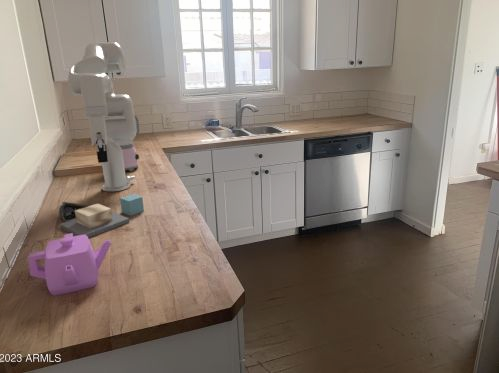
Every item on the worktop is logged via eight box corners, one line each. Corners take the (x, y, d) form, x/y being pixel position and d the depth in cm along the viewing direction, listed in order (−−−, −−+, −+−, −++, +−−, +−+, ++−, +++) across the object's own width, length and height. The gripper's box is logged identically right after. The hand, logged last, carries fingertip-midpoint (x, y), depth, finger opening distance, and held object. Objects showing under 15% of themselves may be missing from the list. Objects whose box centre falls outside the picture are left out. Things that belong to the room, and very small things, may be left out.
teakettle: (73, 260, 119) (65, 222, 115) (119, 269, 113) (113, 230, 109) (24, 290, 104) (14, 249, 100) (75, 303, 98) (66, 259, 94)
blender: (111, 172, 208) (102, 111, 197) (118, 166, 219) (110, 108, 209) (140, 172, 207) (133, 111, 197) (147, 165, 219) (140, 107, 209)
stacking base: (105, 212, 155) (103, 198, 153) (129, 222, 145) (127, 207, 143) (60, 227, 142) (57, 212, 140) (83, 239, 132) (80, 223, 130)
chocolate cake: (86, 209, 160) (59, 195, 153) (94, 208, 155) (67, 193, 148) (75, 230, 156) (47, 216, 149) (83, 230, 151) (54, 215, 144)
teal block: (134, 207, 159) (133, 193, 157) (143, 211, 155) (142, 196, 153) (121, 212, 155) (119, 198, 153) (130, 215, 151) (128, 201, 149)
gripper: (85, 109, 143) (92, 155, 148) (83, 115, 127) (91, 166, 133) (106, 107, 145) (113, 152, 151) (107, 113, 130) (114, 163, 135)
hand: (103, 159), depth 142 cm, fingers open, 9 cm apart
